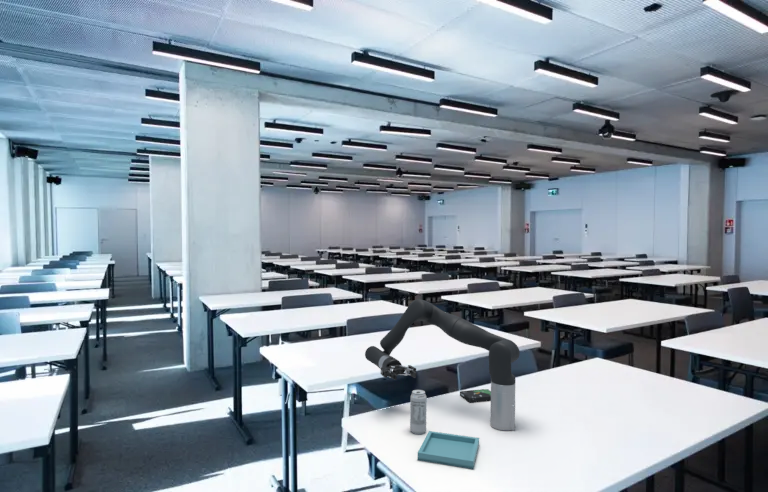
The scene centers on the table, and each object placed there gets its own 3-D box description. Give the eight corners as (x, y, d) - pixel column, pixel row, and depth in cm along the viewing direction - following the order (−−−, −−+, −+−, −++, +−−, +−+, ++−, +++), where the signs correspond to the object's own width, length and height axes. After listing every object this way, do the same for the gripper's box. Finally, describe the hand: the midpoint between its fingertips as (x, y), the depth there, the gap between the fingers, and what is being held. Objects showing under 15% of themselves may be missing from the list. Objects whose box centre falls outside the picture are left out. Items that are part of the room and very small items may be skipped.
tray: (479, 445, 158) (479, 438, 158) (473, 469, 141) (473, 461, 141) (428, 437, 164) (429, 430, 164) (417, 460, 146) (417, 452, 146)
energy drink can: (427, 429, 171) (428, 390, 171) (423, 436, 165) (424, 395, 165) (412, 427, 173) (413, 388, 173) (408, 433, 167) (408, 393, 167)
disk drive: (469, 404, 200) (499, 401, 205) (469, 398, 200) (499, 395, 205) (459, 397, 210) (487, 393, 214) (459, 391, 210) (487, 388, 214)
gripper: (374, 358, 192) (389, 368, 177) (404, 355, 197) (421, 365, 182) (374, 375, 192) (389, 387, 177) (404, 372, 197) (421, 384, 182)
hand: (405, 376), depth 179 cm, fingers open, 8 cm apart
